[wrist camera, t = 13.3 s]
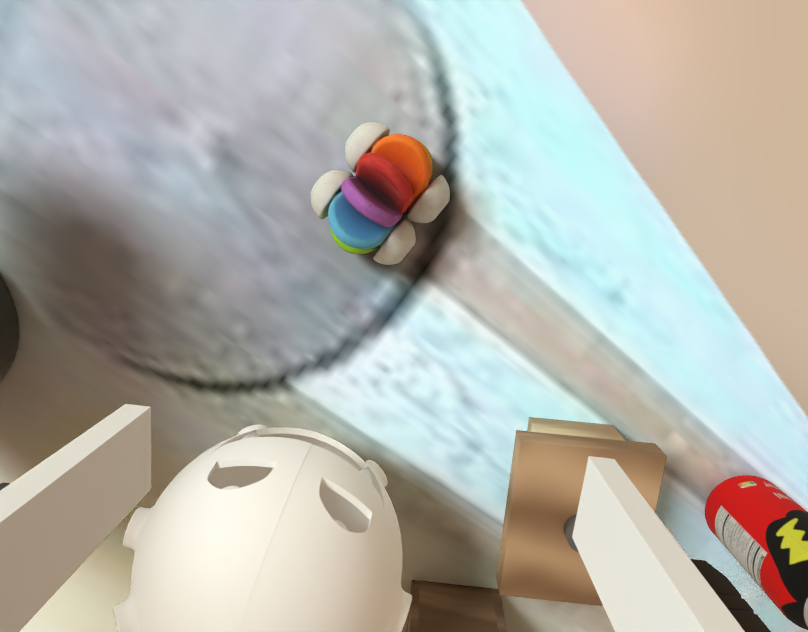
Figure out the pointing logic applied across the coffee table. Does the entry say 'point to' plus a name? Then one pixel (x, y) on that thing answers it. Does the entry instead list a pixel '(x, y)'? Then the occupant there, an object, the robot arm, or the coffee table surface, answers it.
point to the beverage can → (765, 539)
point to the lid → (560, 511)
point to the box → (454, 608)
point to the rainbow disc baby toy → (380, 194)
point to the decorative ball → (268, 542)
